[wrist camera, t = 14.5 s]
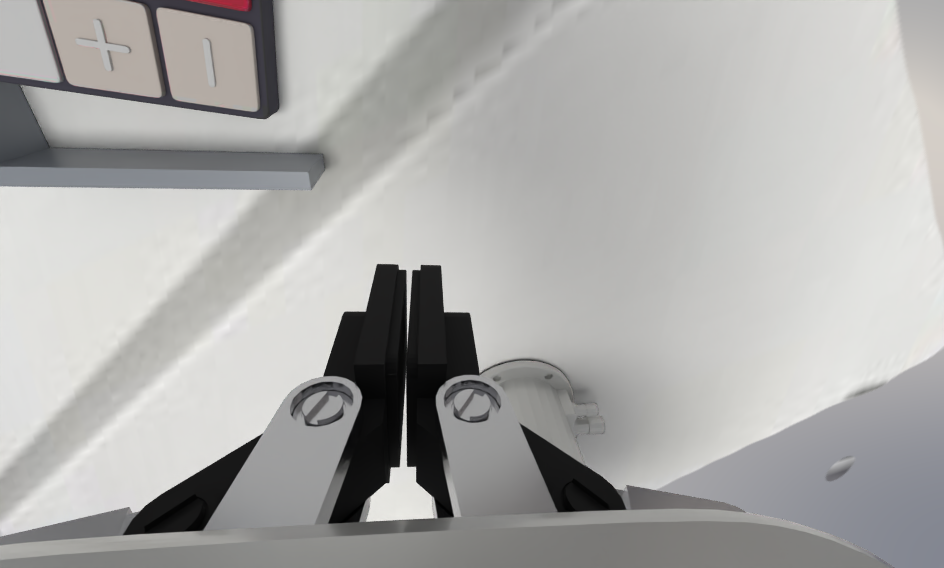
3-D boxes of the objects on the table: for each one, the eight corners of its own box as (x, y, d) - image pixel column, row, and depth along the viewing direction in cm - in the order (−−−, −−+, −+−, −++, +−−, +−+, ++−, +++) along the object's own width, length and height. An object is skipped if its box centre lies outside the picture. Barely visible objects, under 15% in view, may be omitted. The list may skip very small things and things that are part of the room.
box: (274, -189, 21) (241, -237, 17) (324, 170, 30) (311, 190, 27) (-167, -240, 19) (-317, -308, 15) (38, 164, 28) (-21, 186, 24)
